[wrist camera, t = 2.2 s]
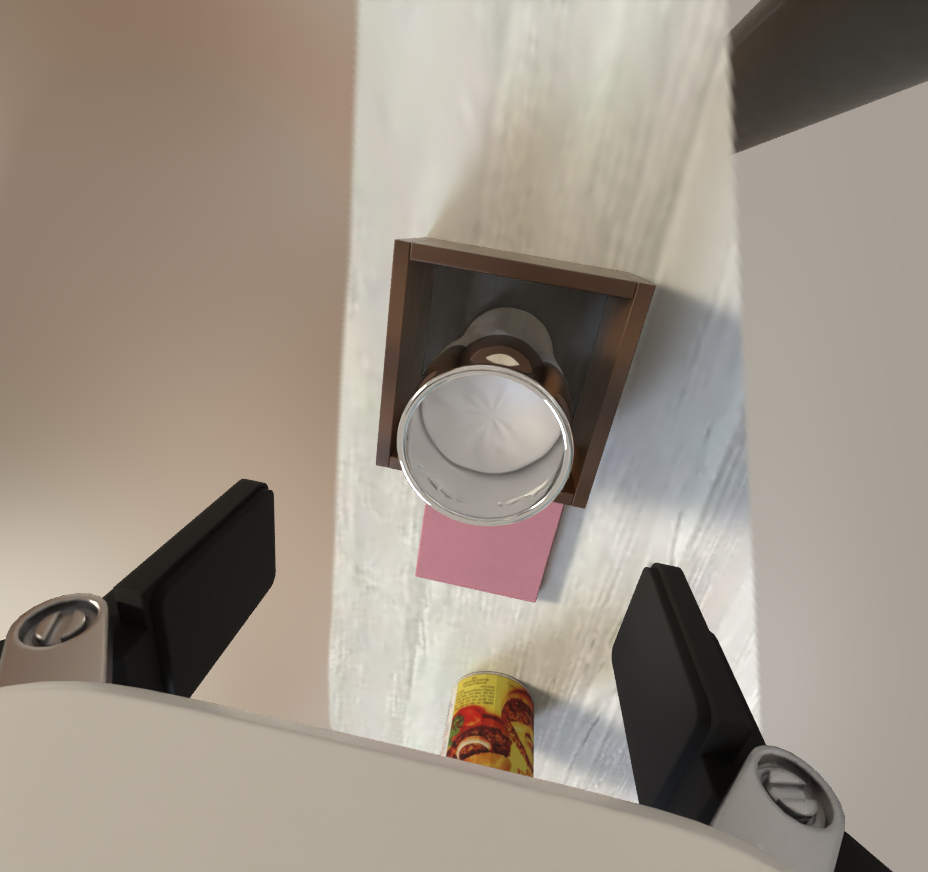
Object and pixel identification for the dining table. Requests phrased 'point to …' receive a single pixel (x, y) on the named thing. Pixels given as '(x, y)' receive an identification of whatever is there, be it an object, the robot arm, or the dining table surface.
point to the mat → (488, 552)
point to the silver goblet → (490, 424)
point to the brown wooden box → (622, 288)
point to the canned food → (491, 723)
